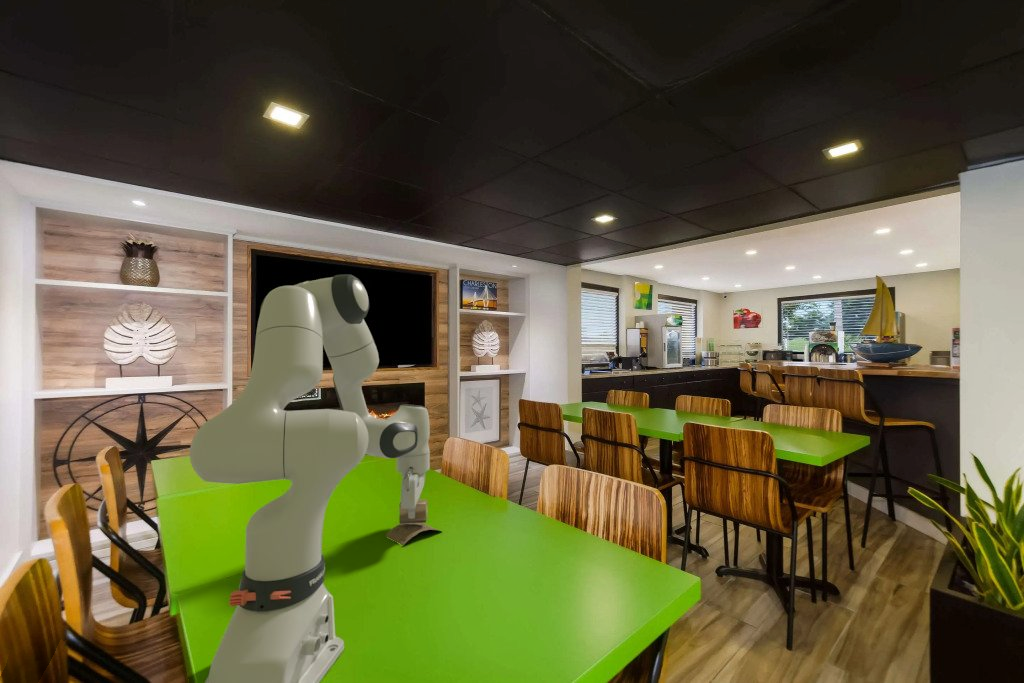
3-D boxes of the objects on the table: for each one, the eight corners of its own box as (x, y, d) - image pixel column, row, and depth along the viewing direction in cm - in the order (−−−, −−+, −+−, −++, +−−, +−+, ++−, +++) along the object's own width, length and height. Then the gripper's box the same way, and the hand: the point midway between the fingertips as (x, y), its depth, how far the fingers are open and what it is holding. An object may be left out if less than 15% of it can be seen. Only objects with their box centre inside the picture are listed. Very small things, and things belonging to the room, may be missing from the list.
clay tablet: (401, 550, 110) (401, 539, 110) (379, 539, 117) (379, 529, 117) (446, 533, 121) (446, 523, 121) (423, 524, 128) (423, 514, 128)
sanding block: (425, 522, 119) (425, 503, 119) (399, 523, 118) (399, 504, 118) (427, 517, 122) (427, 499, 122) (401, 518, 121) (401, 500, 122)
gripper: (420, 473, 110) (420, 528, 110) (429, 454, 131) (428, 501, 130) (394, 473, 110) (394, 529, 109) (407, 455, 130) (407, 502, 130)
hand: (413, 514), depth 120 cm, fingers closed on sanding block, 3 cm apart
